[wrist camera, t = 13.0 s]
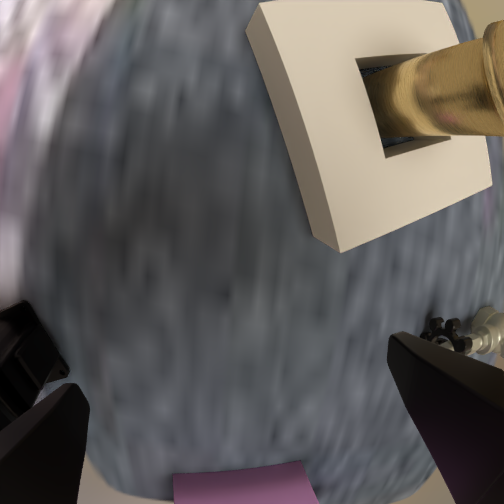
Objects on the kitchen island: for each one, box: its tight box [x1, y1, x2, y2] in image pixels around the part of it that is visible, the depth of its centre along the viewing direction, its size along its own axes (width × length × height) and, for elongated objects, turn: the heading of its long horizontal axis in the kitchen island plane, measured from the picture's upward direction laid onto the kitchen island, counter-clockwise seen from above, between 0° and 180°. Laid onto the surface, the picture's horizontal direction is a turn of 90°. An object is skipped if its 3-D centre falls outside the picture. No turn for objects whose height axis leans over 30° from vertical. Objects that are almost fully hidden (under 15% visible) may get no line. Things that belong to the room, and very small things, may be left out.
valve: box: [420, 306, 504, 358], centre depth 23 cm, size 7×7×12 cm
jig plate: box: [245, 0, 492, 253], centre depth 17 cm, size 14×14×4 cm
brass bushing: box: [362, 20, 504, 138], centre depth 13 cm, size 5×5×13 cm
